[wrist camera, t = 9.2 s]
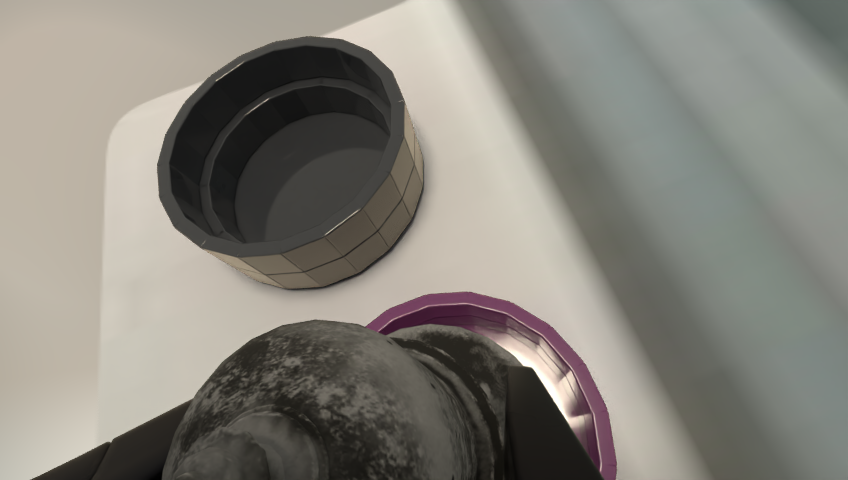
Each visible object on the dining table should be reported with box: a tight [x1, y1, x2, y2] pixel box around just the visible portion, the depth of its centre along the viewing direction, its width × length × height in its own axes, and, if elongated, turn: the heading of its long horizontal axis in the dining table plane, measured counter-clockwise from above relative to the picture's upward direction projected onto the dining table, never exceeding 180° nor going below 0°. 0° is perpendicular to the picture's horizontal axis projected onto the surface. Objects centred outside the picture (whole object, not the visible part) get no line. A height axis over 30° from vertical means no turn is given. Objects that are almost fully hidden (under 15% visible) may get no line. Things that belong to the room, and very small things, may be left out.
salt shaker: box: [162, 320, 523, 480], centre depth 8 cm, size 6×6×12 cm
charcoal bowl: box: [157, 36, 423, 289], centre depth 21 cm, size 11×11×4 cm
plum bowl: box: [366, 292, 617, 480], centre depth 15 cm, size 10×10×4 cm
